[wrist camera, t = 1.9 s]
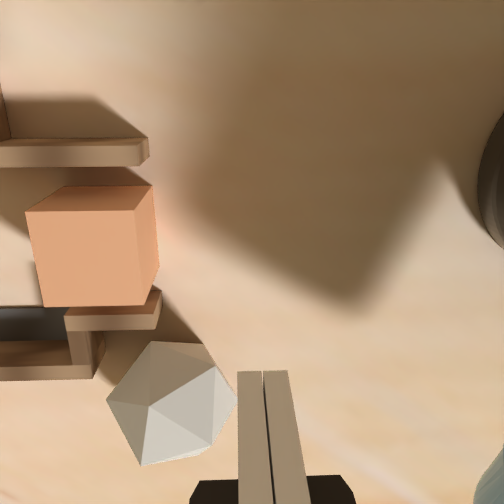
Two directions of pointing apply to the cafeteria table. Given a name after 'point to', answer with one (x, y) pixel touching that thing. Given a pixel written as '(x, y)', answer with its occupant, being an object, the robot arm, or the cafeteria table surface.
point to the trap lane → (66, 318)
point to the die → (171, 402)
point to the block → (95, 245)
